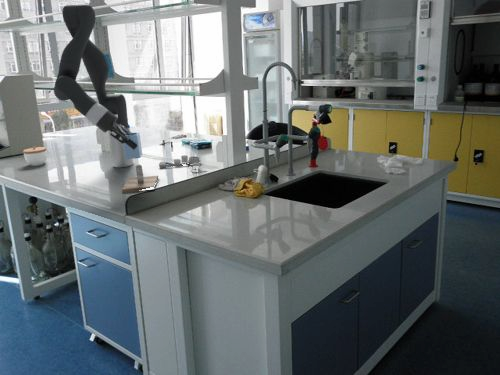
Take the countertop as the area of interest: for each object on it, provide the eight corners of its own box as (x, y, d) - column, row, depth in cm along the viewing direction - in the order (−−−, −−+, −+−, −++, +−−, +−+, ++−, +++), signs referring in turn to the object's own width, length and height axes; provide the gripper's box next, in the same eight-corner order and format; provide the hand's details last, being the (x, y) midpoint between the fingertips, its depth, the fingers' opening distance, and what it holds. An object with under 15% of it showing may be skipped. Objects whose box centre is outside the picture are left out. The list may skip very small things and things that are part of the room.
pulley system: (176, 162, 222) (154, 168, 210) (176, 152, 221) (153, 157, 209) (221, 169, 207) (200, 176, 195) (221, 159, 206) (199, 165, 194)
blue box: (128, 155, 182) (124, 133, 179) (142, 154, 182) (139, 132, 180) (125, 159, 177) (122, 135, 174) (140, 158, 177) (136, 134, 174)
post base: (129, 181, 190) (126, 160, 188) (158, 179, 191) (156, 158, 188) (122, 193, 175) (119, 170, 173) (154, 190, 176) (151, 168, 173)
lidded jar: (52, 161, 237) (49, 143, 234) (43, 166, 227) (39, 147, 224) (32, 162, 238) (28, 144, 235) (21, 167, 227) (17, 148, 225)
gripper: (102, 112, 167) (140, 142, 171) (111, 107, 180) (146, 135, 185) (90, 128, 168) (127, 157, 172) (100, 121, 182) (134, 149, 186)
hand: (137, 145), depth 178 cm, fingers closed on blue box, 5 cm apart
